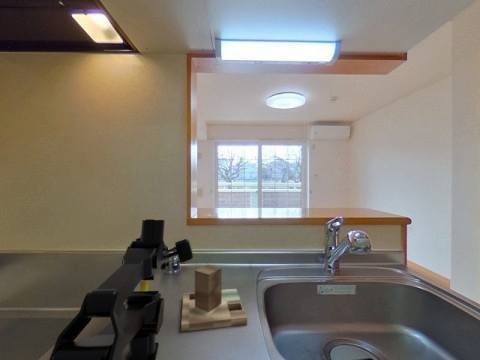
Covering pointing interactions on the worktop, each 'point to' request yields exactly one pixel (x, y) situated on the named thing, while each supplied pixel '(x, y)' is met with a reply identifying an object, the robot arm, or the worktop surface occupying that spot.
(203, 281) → the walnut box
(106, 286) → the robot arm
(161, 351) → the worktop surface
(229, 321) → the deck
